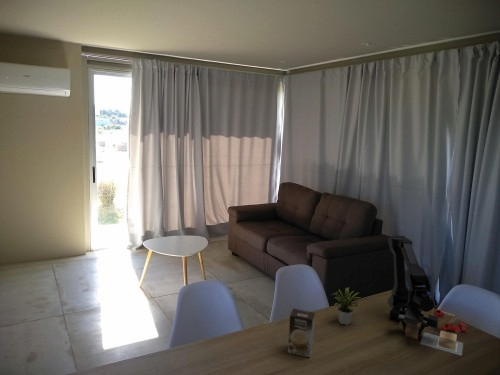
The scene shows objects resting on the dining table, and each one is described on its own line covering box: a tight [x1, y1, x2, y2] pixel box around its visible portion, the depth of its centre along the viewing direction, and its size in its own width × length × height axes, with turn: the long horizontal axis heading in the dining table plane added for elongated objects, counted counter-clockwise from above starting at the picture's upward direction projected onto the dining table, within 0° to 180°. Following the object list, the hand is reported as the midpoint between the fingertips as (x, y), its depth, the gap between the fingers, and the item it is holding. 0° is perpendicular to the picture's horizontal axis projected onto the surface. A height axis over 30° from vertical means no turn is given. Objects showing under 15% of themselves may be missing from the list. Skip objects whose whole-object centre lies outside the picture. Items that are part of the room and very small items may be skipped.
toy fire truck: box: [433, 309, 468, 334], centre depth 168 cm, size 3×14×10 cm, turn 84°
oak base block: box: [438, 330, 458, 350], centre depth 156 cm, size 6×6×4 cm
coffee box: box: [287, 308, 316, 358], centre depth 149 cm, size 9×6×16 cm
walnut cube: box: [404, 323, 421, 340], centre depth 163 cm, size 5×5×5 cm
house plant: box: [331, 286, 364, 326], centre depth 173 cm, size 14×14×16 cm
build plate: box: [419, 332, 464, 356], centre depth 157 cm, size 15×11×1 cm
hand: (412, 334), depth 163 cm, fingers closed on walnut cube, 5 cm apart
